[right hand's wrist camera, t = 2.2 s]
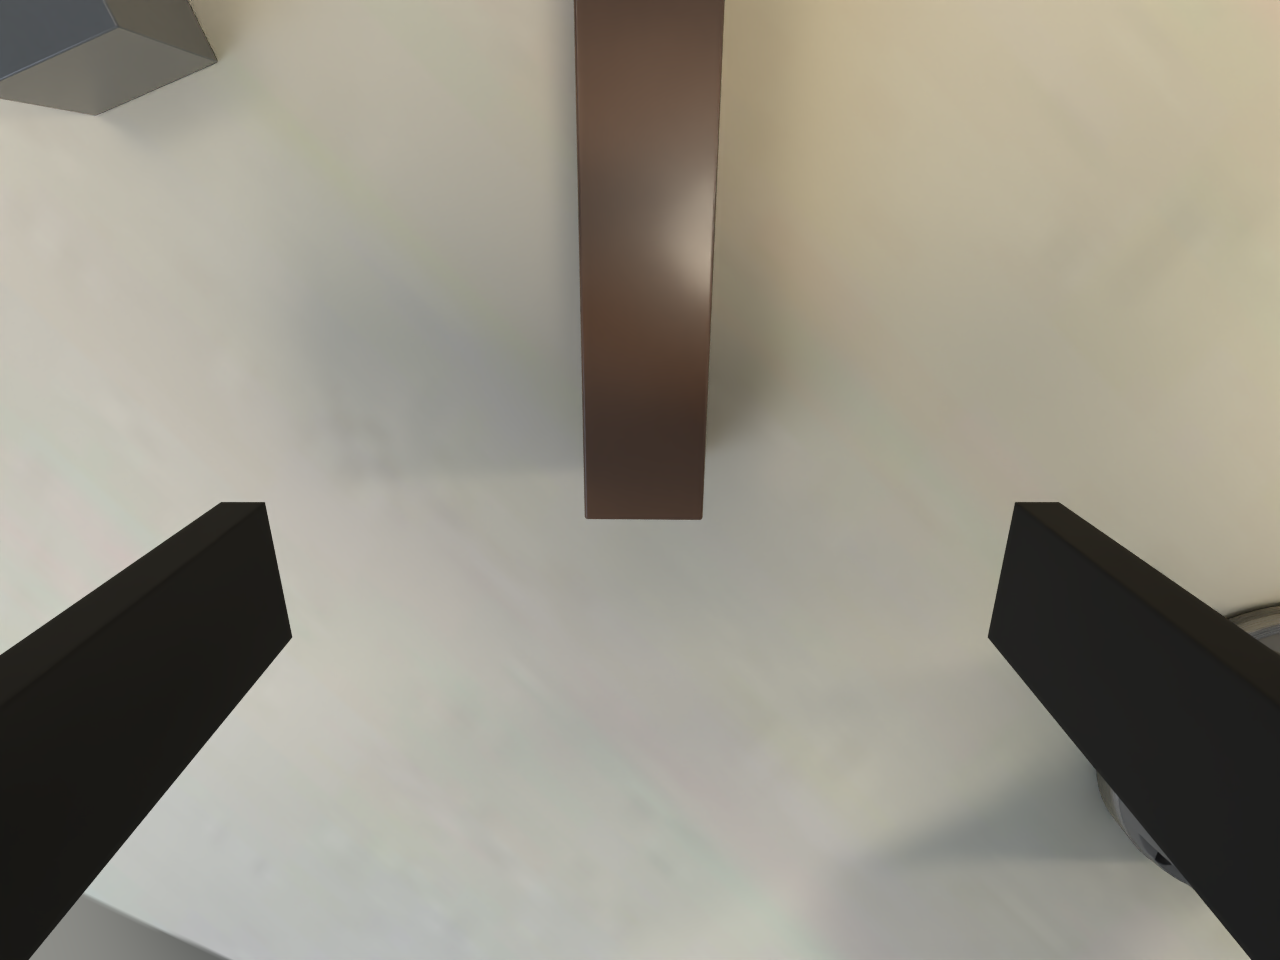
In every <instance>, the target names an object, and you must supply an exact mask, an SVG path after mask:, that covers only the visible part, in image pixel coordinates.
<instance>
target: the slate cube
mask: <svg viewBox="0 0 1280 960" xmlns="http://www.w3.org/2000/svg"><path fill="white" fill-rule="evenodd" d="M216 62H217V59H216V57H215V55H214V53H213V51H212V49H211V47H210V45H209V43H208V41H207V39H206V37H205V35H204V33H203V31H202V29H201V27H200V25H199V23H198V21H197V19H196V17H195V15H194V13H193V11H192V9H191V7H190V5H189V3H188V1H187V0H0V99H5V100H10V101H16V102H22V103H27V104H33V105H39V106H44V107H50V108H55V109H61V110H67V111H72V112H78V113H84V114H89V115H98V114H100V113H103V112H105V111H107V110H109V109H112V108H114V107H116V106H118V105H121V104H123V103H125V102H128V101H130V100H132V99H134V98H137V97H139V96H141V95H144V94H146V93H148V92H150V91H153V90H155V89H157V88H159V87H162V86H164V85H166V84H169V83H171V82H173V81H175V80H178V79H180V78H182V77H185V76H187V75H189V74H191V73H194V72H196V71H198V70H200V69H203V68H205V67H207V66H210V65H212V64H214V63H216Z"/></svg>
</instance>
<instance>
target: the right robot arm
mask: <svg viewBox="0 0 1280 960" xmlns="http://www.w3.org/2000/svg"><path fill="white" fill-rule="evenodd" d="M291 638H292V634H291V629H290V624H289V619H288V614H287V609H286V604H285V599H284V594H283V589H282V584H281V579H280V575H279V570H278V565H277V560H276V555H275V550H274V545H273V540H272V535H271V530H270V525H269V520H268V515H267V510H266V506H265V502H221V503H219V504H218V505H216V506H215V507H213V508H212V509H211V510H209V511H208V512H206V513H205V514H203V515H202V516H201V517H199V518H198V519H196V520H195V521H193V522H192V523H190V524H189V525H188V526H186V527H185V528H183V529H182V530H180V531H179V532H177V533H176V534H175V535H173V536H172V537H170V538H169V539H167V540H166V541H164V542H163V543H162V544H160V545H159V546H157V547H156V548H154V549H153V550H151V551H150V552H149V553H147V554H146V555H144V556H143V557H141V558H140V559H138V560H137V561H136V562H134V563H133V564H131V565H130V566H128V567H127V568H125V569H124V570H123V571H121V572H120V573H118V574H117V575H115V576H114V577H112V578H111V579H110V580H108V581H107V582H105V583H104V584H102V585H101V586H99V587H98V588H97V589H95V590H94V591H92V592H91V593H89V594H88V595H86V596H85V597H84V598H82V599H81V600H79V601H78V602H76V603H75V604H73V605H72V606H71V607H69V608H68V609H66V610H65V611H63V612H62V613H60V614H59V615H58V616H56V617H55V618H53V619H52V620H50V621H49V622H48V623H46V624H45V625H43V626H42V627H40V628H39V629H37V630H36V631H35V632H33V633H32V634H30V635H29V636H27V637H26V638H24V639H23V640H22V641H20V642H19V643H17V644H16V645H14V646H13V647H11V648H10V649H9V650H7V651H6V652H4V653H3V654H1V655H0V960H29V959H30V957H31V956H32V955H33V954H34V952H35V951H36V950H37V949H38V948H39V946H40V945H41V944H42V943H43V941H44V940H45V939H46V938H47V937H48V935H49V934H50V933H51V932H52V930H53V929H54V928H55V927H56V926H57V924H58V923H59V922H60V921H61V919H62V918H63V917H64V916H65V915H66V913H67V912H68V911H69V910H70V908H71V907H72V906H73V905H74V904H75V902H76V901H77V900H78V899H79V897H80V896H81V895H82V894H83V893H84V891H85V890H86V889H87V888H88V886H89V885H90V884H91V883H92V882H93V880H94V879H95V878H96V877H97V875H98V874H99V873H100V872H101V871H102V869H103V868H104V867H105V866H106V864H107V863H108V862H109V861H110V860H111V858H112V857H113V856H114V855H115V853H116V852H117V851H118V850H119V849H120V847H121V846H122V845H123V844H124V842H125V841H126V840H127V839H128V838H129V836H130V835H131V834H132V833H133V831H134V830H135V829H136V828H137V827H138V825H139V824H140V823H141V822H142V820H143V819H144V818H145V817H146V816H147V814H148V813H149V812H150V811H151V809H152V808H153V807H154V806H155V805H156V803H157V802H158V801H159V800H160V798H161V797H162V796H163V795H164V793H165V792H166V791H167V790H168V789H169V787H170V786H171V785H172V784H173V782H174V781H175V780H176V779H177V778H178V776H179V775H180V774H181V773H182V771H183V770H184V769H185V768H186V767H187V765H188V764H189V763H190V762H191V760H192V759H193V758H194V757H195V756H196V754H197V753H198V752H199V751H200V749H201V748H202V747H203V746H204V745H205V743H206V742H207V741H208V740H209V738H210V737H211V736H212V735H213V734H214V732H215V731H216V730H217V729H218V727H219V726H220V725H221V724H222V723H223V721H224V720H225V719H226V718H227V716H228V715H229V714H230V713H231V712H232V710H233V709H234V708H235V707H236V705H237V704H238V703H239V702H240V701H241V699H242V698H243V697H244V696H245V694H246V693H247V692H248V691H249V690H250V688H251V687H252V686H253V685H254V683H255V682H256V681H257V680H258V679H259V677H260V676H261V675H262V674H263V672H264V671H265V670H266V669H267V668H268V666H269V665H270V664H271V663H272V661H273V660H274V659H275V658H276V657H277V655H278V654H279V653H280V652H281V650H282V649H283V648H284V647H285V646H286V644H287V643H288V642H289V641H290V639H291ZM988 638H989V639H990V641H991V642H992V643H993V644H994V646H995V647H996V648H997V649H998V650H999V652H1000V653H1001V654H1002V655H1003V657H1004V658H1005V659H1006V660H1007V661H1008V663H1009V664H1010V665H1011V666H1012V668H1013V669H1014V670H1015V671H1016V672H1017V674H1018V675H1019V676H1020V677H1021V679H1022V680H1023V681H1024V682H1025V683H1026V685H1027V686H1028V687H1029V688H1030V690H1031V691H1032V692H1033V693H1034V694H1035V696H1036V697H1037V698H1038V699H1039V701H1040V702H1041V703H1042V704H1043V705H1044V707H1045V708H1046V709H1047V710H1048V712H1049V713H1050V714H1051V715H1052V716H1053V718H1054V719H1055V720H1056V721H1057V723H1058V724H1059V725H1060V726H1061V727H1062V729H1063V730H1064V731H1065V732H1066V734H1067V735H1068V736H1069V737H1070V738H1071V740H1072V741H1073V742H1074V743H1075V745H1076V746H1077V747H1078V748H1079V749H1080V751H1081V752H1082V753H1083V754H1084V756H1085V757H1086V758H1087V759H1088V760H1089V762H1090V763H1091V764H1092V765H1093V767H1094V768H1095V769H1096V770H1097V780H1098V786H1099V790H1100V793H1101V796H1102V799H1103V801H1104V803H1105V805H1106V807H1107V809H1108V810H1109V812H1110V813H1111V815H1112V816H1113V818H1114V819H1115V820H1116V822H1117V823H1118V824H1119V825H1120V827H1121V828H1122V829H1123V831H1124V832H1125V833H1126V834H1127V836H1128V837H1129V838H1130V839H1131V841H1132V842H1133V843H1134V844H1135V845H1136V847H1137V848H1138V849H1139V850H1140V851H1141V852H1142V853H1143V854H1144V855H1145V856H1147V857H1148V858H1149V859H1150V860H1152V861H1153V862H1154V863H1155V864H1156V865H1158V866H1159V867H1160V868H1161V869H1163V870H1164V871H1166V872H1167V873H1169V874H1170V875H1172V876H1173V877H1175V878H1176V879H1178V880H1180V881H1182V882H1184V883H1186V884H1188V885H1189V886H1190V887H1192V888H1193V889H1194V890H1195V891H1196V893H1197V894H1198V895H1199V896H1200V897H1201V899H1202V900H1203V901H1204V902H1205V904H1206V905H1207V906H1208V907H1209V908H1210V910H1211V911H1212V912H1213V913H1214V915H1215V916H1216V917H1217V918H1218V919H1219V921H1220V922H1221V923H1222V924H1223V926H1224V927H1225V928H1226V929H1227V930H1228V932H1229V933H1230V934H1231V935H1232V937H1233V938H1234V939H1235V940H1236V941H1237V943H1238V944H1239V945H1240V946H1241V948H1242V949H1243V950H1244V951H1245V952H1246V954H1247V955H1248V956H1249V957H1250V959H1251V960H1280V606H1275V607H1269V608H1264V609H1259V610H1256V611H1252V612H1248V613H1245V614H1241V615H1239V616H1236V617H1233V618H1230V619H1227V618H1225V617H1224V616H1222V615H1221V614H1220V613H1218V612H1217V611H1215V610H1214V609H1212V608H1211V607H1209V606H1208V605H1207V604H1205V603H1204V602H1202V601H1201V600H1199V599H1198V598H1196V597H1195V596H1194V595H1192V594H1191V593H1189V592H1188V591H1186V590H1185V589H1183V588H1182V587H1181V586H1179V585H1178V584H1176V583H1175V582H1173V581H1172V580H1170V579H1169V578H1168V577H1166V576H1165V575H1163V574H1162V573H1160V572H1159V571H1157V570H1156V569H1155V568H1153V567H1152V566H1150V565H1149V564H1147V563H1146V562H1144V561H1143V560H1142V559H1140V558H1139V557H1137V556H1136V555H1134V554H1133V553H1131V552H1130V551H1129V550H1127V549H1126V548H1124V547H1123V546H1121V545H1120V544H1118V543H1117V542H1116V541H1114V540H1113V539H1111V538H1110V537H1108V536H1107V535H1105V534H1104V533H1103V532H1101V531H1100V530H1098V529H1097V528H1095V527H1094V526H1092V525H1091V524H1090V523H1088V522H1087V521H1085V520H1084V519H1082V518H1081V517H1079V516H1078V515H1077V514H1075V513H1074V512H1072V511H1071V510H1069V509H1068V508H1067V507H1065V506H1064V505H1062V504H1061V503H1059V502H1015V506H1014V510H1013V515H1012V520H1011V525H1010V530H1009V535H1008V540H1007V545H1006V550H1005V555H1004V560H1003V565H1002V570H1001V575H1000V579H999V584H998V589H997V594H996V599H995V604H994V609H993V614H992V619H991V624H990V629H989V634H988Z"/></svg>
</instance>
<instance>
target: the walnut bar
mask: <svg viewBox="0 0 1280 960" xmlns="http://www.w3.org/2000/svg"><path fill="white" fill-rule="evenodd" d="M724 3H725V0H574V31H575V77H576V124H577V171H578V218H579V265H580V312H581V359H582V406H583V453H584V500H585V518H586V519H668V520H701V519H702V517H703V494H704V471H705V447H706V424H707V401H708V377H709V354H710V330H711V307H712V284H713V260H714V237H715V214H716V190H717V167H718V144H719V120H720V97H721V73H722V50H723V27H724Z"/></svg>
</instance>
